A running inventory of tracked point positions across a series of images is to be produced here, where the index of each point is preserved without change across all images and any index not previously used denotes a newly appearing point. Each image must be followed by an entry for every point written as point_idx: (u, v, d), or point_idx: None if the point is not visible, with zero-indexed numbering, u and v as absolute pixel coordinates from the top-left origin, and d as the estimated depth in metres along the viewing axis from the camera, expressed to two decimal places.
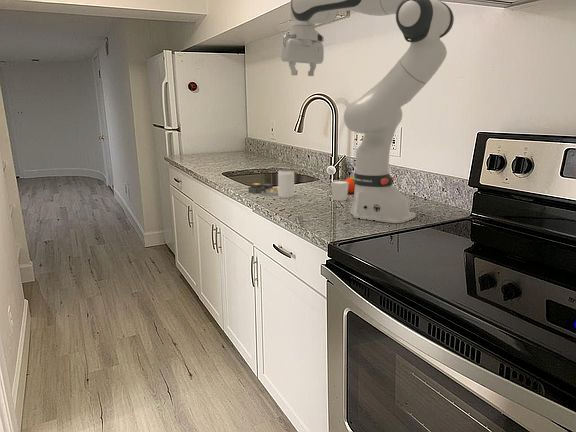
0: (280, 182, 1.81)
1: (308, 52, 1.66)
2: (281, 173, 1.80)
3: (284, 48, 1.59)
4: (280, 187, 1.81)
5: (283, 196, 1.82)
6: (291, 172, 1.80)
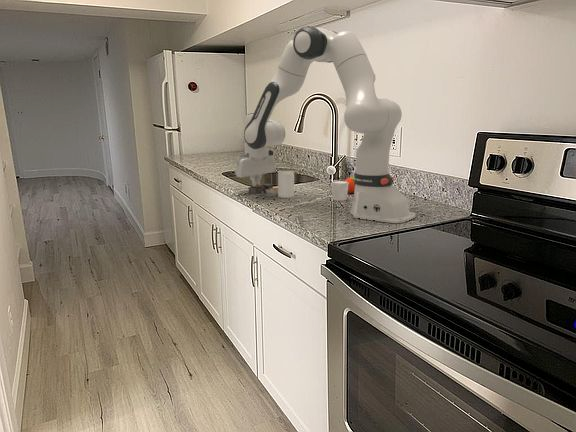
0: (280, 182, 1.81)
1: (260, 166, 1.90)
2: (281, 173, 1.80)
3: (238, 167, 1.83)
4: (280, 187, 1.81)
5: (283, 196, 1.82)
6: (291, 172, 1.80)
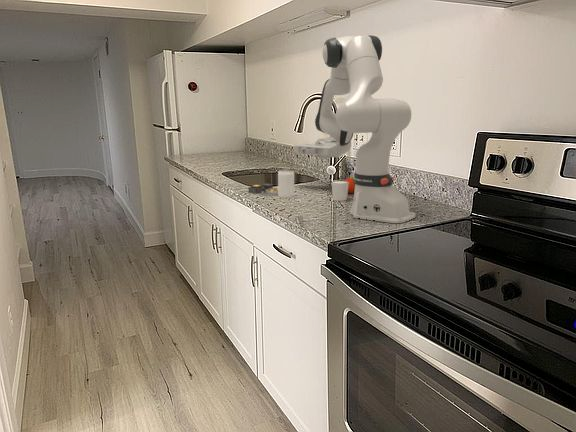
0: (280, 182, 1.81)
1: (317, 145, 1.94)
2: (281, 173, 1.80)
3: None
4: (280, 187, 1.81)
5: (283, 196, 1.82)
6: (291, 172, 1.80)
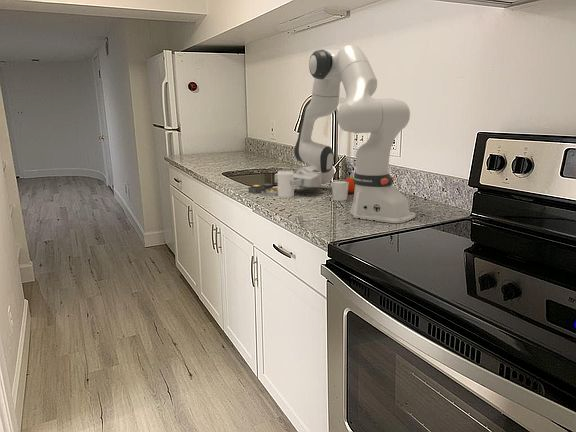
0: (280, 182, 1.81)
1: (298, 175, 1.87)
2: (281, 173, 1.80)
3: None
4: (280, 187, 1.81)
5: (283, 196, 1.82)
6: (291, 172, 1.80)
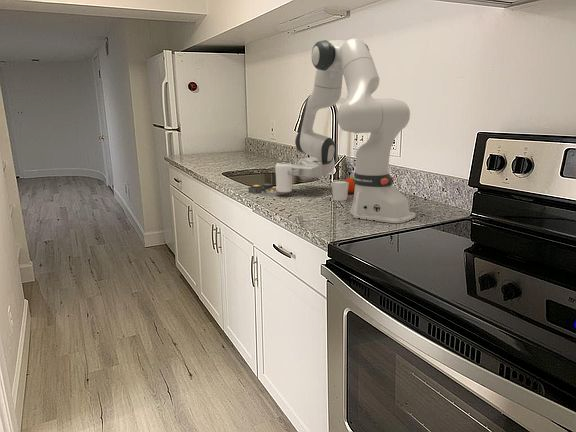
0: (277, 174, 1.81)
1: (298, 166, 1.86)
2: (278, 165, 1.80)
3: None
4: (277, 179, 1.81)
5: (280, 188, 1.81)
6: (288, 164, 1.80)
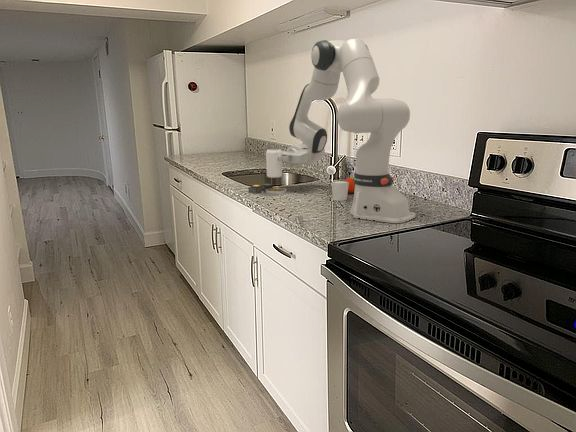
0: (268, 160, 1.87)
1: (288, 152, 1.92)
2: (268, 151, 1.86)
3: None
4: (268, 165, 1.88)
5: (271, 174, 1.88)
6: (278, 150, 1.86)
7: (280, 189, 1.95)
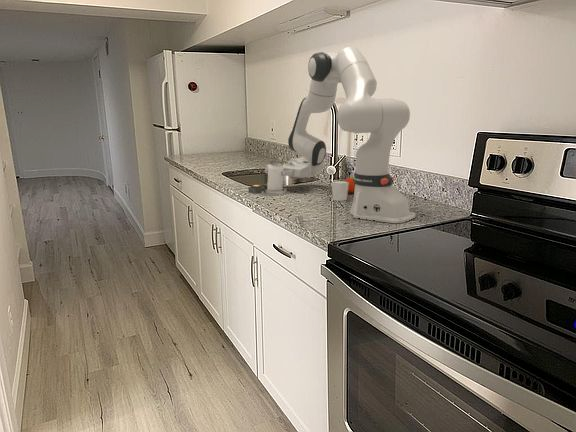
0: (269, 175, 1.87)
1: (289, 166, 1.93)
2: (271, 167, 1.86)
3: None
4: (269, 180, 1.88)
5: (271, 189, 1.89)
6: (280, 167, 1.86)
7: None
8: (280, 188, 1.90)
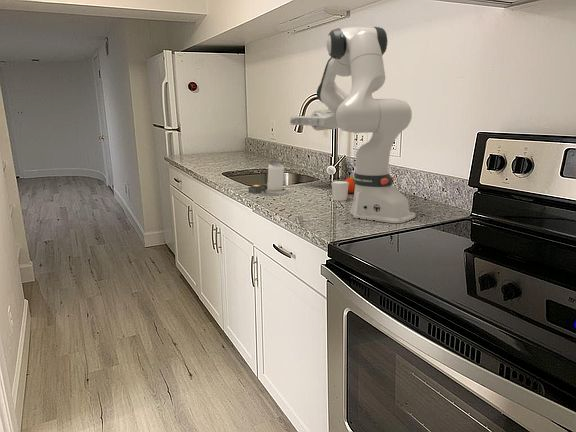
0: (269, 175, 1.87)
1: None
2: (271, 167, 1.86)
3: None
4: (269, 180, 1.88)
5: (271, 189, 1.89)
6: (280, 167, 1.86)
7: None
8: (280, 188, 1.90)
